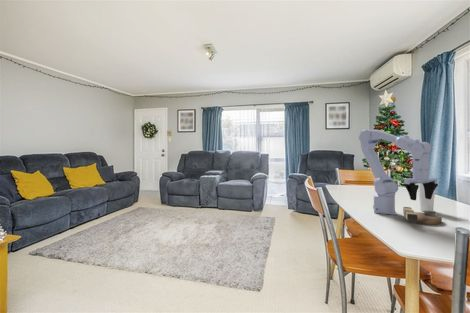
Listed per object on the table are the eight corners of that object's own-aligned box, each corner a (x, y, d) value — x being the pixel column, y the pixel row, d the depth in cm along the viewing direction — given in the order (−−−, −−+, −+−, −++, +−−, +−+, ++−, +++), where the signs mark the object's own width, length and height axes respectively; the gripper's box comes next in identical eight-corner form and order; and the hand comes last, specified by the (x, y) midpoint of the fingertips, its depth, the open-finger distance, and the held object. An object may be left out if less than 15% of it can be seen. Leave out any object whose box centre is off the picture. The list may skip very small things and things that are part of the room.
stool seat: (407, 222, 103) (407, 213, 103) (402, 215, 114) (402, 206, 114) (445, 226, 97) (445, 217, 97) (437, 218, 108) (437, 209, 108)
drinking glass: (436, 213, 115) (436, 183, 115) (419, 211, 119) (418, 182, 118) (433, 210, 121) (433, 181, 120) (417, 208, 125) (417, 180, 124)
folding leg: (402, 213, 110) (402, 206, 110) (411, 214, 109) (411, 207, 109) (407, 222, 98) (407, 214, 98) (417, 223, 96) (417, 215, 96)
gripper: (414, 170, 100) (414, 202, 100) (444, 169, 101) (443, 200, 102) (400, 169, 107) (400, 198, 107) (428, 167, 108) (428, 197, 109)
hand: (420, 199), depth 105 cm, fingers open, 7 cm apart
